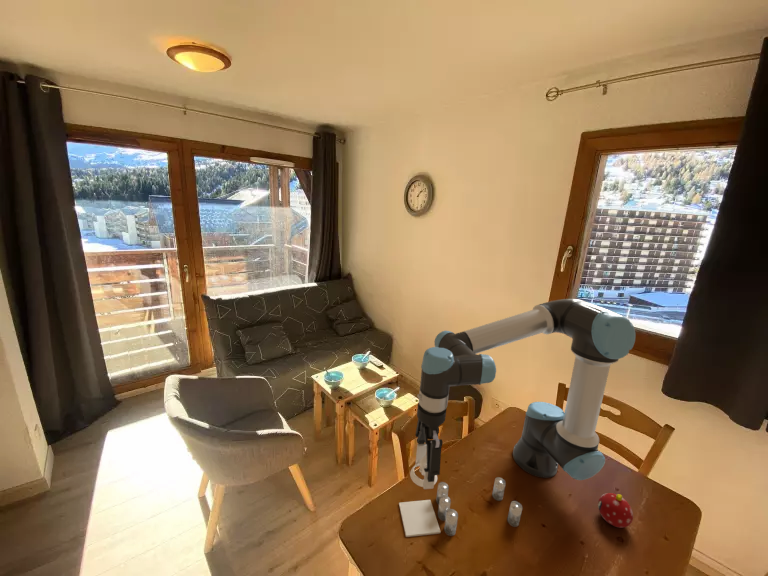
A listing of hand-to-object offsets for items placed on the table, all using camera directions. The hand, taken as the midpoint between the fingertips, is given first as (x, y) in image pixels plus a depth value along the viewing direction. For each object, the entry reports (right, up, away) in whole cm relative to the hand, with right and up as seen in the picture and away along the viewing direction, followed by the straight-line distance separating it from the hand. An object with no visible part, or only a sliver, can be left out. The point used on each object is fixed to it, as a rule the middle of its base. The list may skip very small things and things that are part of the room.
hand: (424, 474), depth 90 cm
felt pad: (-1, -15, +4) cm, 16 cm away
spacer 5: (+27, -17, +5) cm, 32 cm away
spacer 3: (+8, -17, +1) cm, 18 cm away
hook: (0, -1, 0) cm, 1 cm away
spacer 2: (+6, -15, +5) cm, 18 cm away
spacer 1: (+7, -14, +10) cm, 19 cm away
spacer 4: (+25, -15, +13) cm, 32 cm away
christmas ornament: (+58, -19, +7) cm, 62 cm away
